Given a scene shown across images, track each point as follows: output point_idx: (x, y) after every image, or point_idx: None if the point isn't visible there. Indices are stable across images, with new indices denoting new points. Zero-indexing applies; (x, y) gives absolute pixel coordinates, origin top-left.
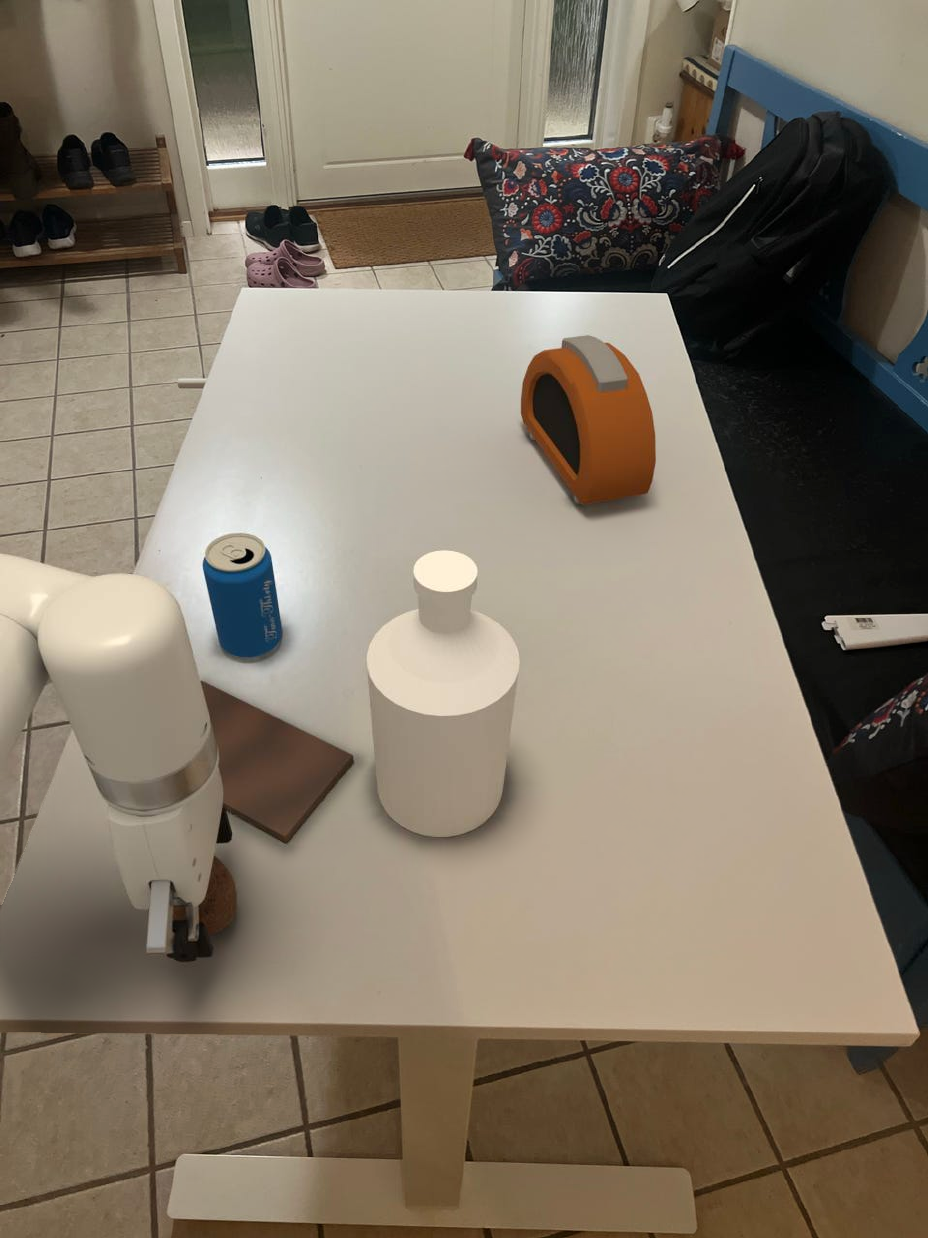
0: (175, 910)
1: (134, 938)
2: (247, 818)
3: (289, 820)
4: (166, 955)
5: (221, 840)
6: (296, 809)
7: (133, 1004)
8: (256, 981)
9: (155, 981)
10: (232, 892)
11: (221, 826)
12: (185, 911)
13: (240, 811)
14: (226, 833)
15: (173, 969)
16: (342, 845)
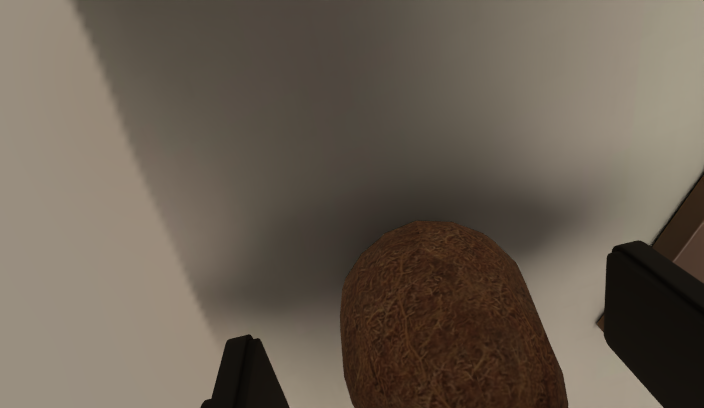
0: (359, 338)
1: (326, 104)
2: (671, 246)
3: None
4: (224, 348)
5: (614, 333)
6: None
7: (168, 181)
8: (297, 374)
9: (237, 204)
10: None
11: (672, 406)
12: (353, 390)
13: (696, 234)
14: (639, 376)
15: (275, 228)
16: (586, 405)
